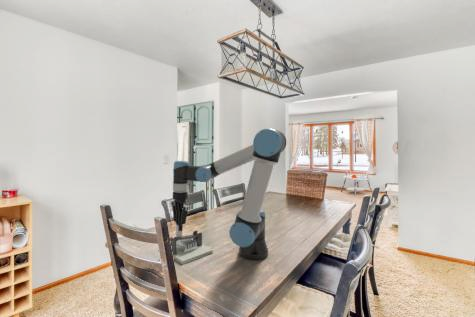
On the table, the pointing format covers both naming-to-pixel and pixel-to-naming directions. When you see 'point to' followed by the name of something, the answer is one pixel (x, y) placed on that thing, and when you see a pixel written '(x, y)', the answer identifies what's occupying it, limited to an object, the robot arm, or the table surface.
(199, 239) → the mounts
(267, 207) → the table surface
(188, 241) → the heatsink
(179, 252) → the board
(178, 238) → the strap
